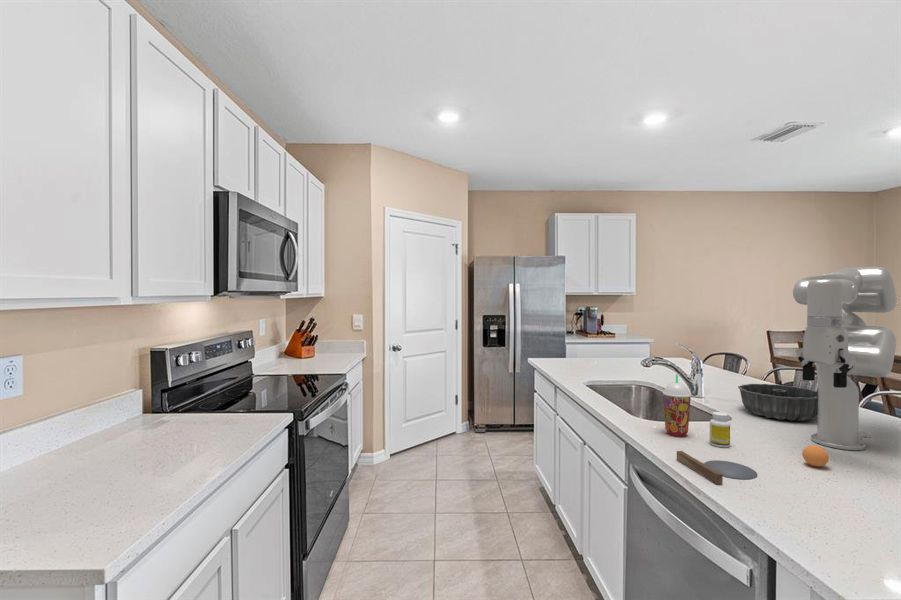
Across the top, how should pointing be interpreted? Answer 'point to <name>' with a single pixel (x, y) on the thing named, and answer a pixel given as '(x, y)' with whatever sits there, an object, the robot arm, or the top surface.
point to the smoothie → (676, 409)
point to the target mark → (732, 469)
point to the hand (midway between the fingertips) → (823, 383)
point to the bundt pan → (780, 401)
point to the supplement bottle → (720, 430)
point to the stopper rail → (700, 468)
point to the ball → (815, 456)
